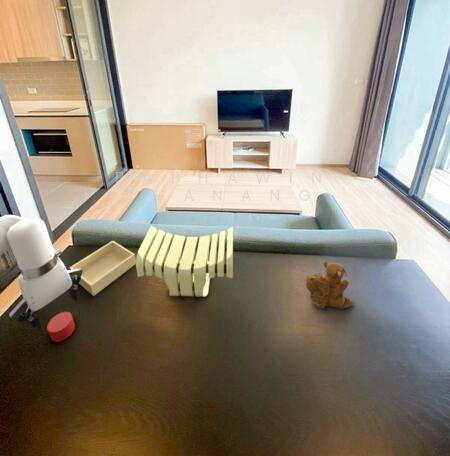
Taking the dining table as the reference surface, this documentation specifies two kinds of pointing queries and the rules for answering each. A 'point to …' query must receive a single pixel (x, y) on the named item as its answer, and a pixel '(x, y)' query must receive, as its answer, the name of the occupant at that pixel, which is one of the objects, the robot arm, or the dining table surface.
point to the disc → (61, 326)
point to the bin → (104, 266)
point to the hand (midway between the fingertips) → (57, 311)
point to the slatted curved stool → (185, 261)
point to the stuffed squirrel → (329, 287)
